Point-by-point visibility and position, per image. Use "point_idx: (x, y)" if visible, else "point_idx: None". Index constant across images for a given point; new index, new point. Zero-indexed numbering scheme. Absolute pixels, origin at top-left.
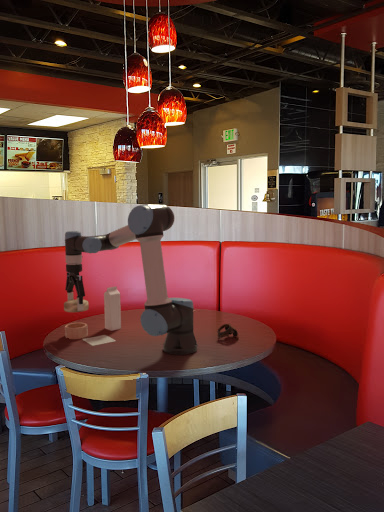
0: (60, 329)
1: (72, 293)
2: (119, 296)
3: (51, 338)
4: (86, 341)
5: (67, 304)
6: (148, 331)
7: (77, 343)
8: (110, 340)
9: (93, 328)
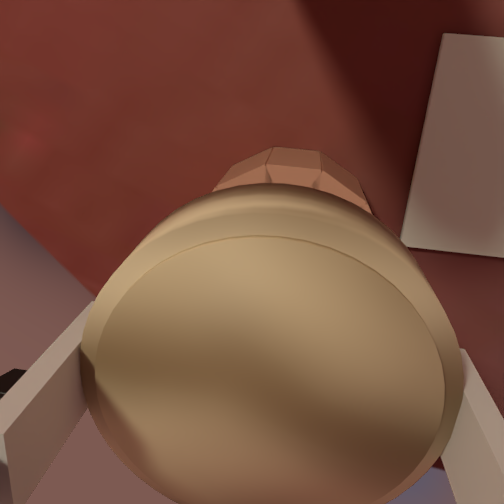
0: (41, 230)
1: (16, 434)
2: None
3: None
4: (474, 249)
5: None
6: None
7: (441, 303)
8: None
9: (163, 2)
